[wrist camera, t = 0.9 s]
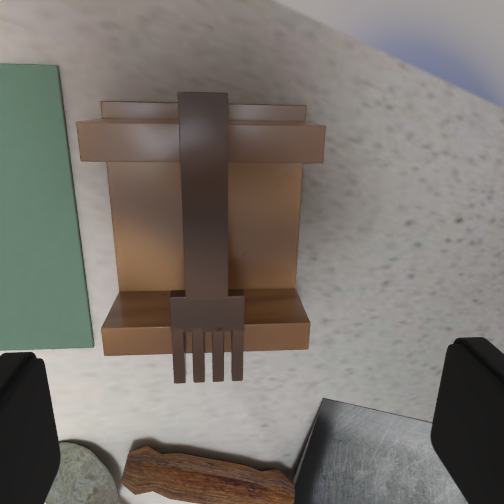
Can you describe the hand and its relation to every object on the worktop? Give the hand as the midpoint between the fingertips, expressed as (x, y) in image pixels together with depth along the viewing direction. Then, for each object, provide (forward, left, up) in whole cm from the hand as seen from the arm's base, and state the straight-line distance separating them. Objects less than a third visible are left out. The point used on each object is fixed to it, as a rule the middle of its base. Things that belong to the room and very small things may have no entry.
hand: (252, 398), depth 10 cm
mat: (+2, -16, -21) cm, 27 cm away
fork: (+2, -1, -15) cm, 15 cm away
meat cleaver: (+24, +9, -21) cm, 33 cm away
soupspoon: (+30, -8, -21) cm, 38 cm away
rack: (+2, -1, -21) cm, 21 cm away
